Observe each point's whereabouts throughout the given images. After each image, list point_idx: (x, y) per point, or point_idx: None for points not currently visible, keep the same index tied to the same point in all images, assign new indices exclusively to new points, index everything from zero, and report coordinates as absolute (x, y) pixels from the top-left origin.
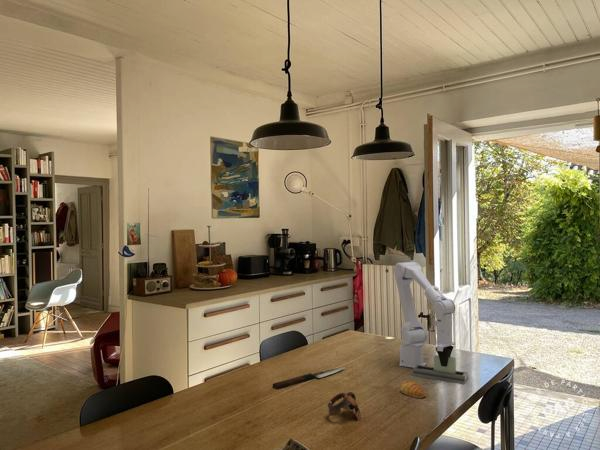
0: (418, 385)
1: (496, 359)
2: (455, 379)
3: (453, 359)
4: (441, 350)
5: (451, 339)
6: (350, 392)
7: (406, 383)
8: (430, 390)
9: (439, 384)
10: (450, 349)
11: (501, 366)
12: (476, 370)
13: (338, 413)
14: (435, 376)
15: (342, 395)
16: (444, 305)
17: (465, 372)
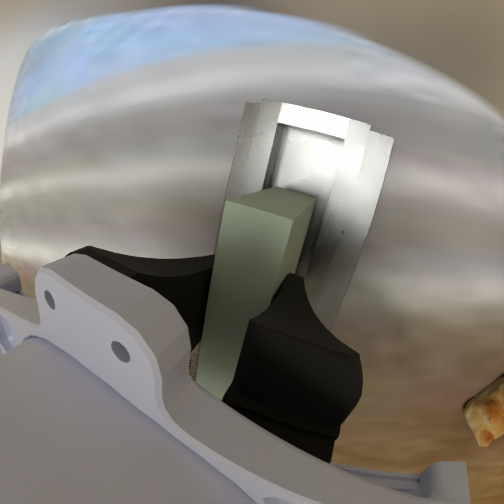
0: None
1: (31, 67)
2: (365, 193)
3: (293, 229)
4: (459, 478)
5: (48, 475)
6: None
7: (495, 437)
8: (493, 339)
9: (419, 296)
10: (255, 339)
11: (75, 26)
12: (119, 86)
13: None
14: (325, 319)
15: None
16: None
17: (263, 113)
